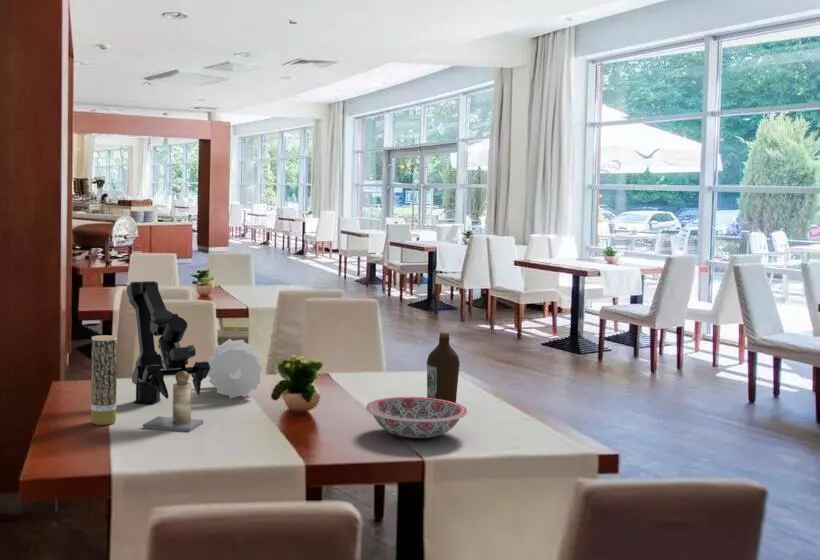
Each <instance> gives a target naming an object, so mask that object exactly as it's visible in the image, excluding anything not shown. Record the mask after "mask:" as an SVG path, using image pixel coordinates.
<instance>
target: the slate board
mask: <svg viewBox="0 0 820 560" xmlns="http://www.w3.org/2000/svg"><path fill="white" fill-rule="evenodd" d="M203 424H204V419H196V418H195V419H193V418H191V420H190V423H187V424H175V423H173V416H172V417H168V416H160V415H159V416H156V417H155V418H153V419H151V420H149V421H147V422H145V423H143V424H142V428H143V427H144V428H143V429H149V428H151V429H152V430H161V431H162V430H163V431H164V430H165V431H173V430H174V432H175V431H177V432H185V431H186V433H188V432H189V433H190V432H192V431H194V430H195V429H196V428H198V427H200V426H201V425H203Z"/></svg>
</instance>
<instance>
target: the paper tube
mask: <svg viewBox="0 0 820 560" xmlns="http://www.w3.org/2000/svg"><path fill="white" fill-rule="evenodd" d="M117 348H118V338H117V336H116V335H112V334H111V335H107V334H102V335H101V334H100V335H94V336H91V377H90V378H91V382H90V383H91V388H90V389H91V392H90V393H91V396H90V397H91V402H90V403H91V406H90V409H91V410H90V411H91V413H90V414H91V415H90V417H91V418H90V423H92V425H97V426H106V425H107V426H108V424H109V425H112V424H114V423H115V422H116V421H117V377H118V376H117V369H118V368H117V367H118V366H117V362H118V361H117V360H118V359H117V357H118V355H117V354H118V353H117V352H118V349H117Z"/></svg>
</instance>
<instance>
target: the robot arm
mask: <svg viewBox="0 0 820 560" xmlns="http://www.w3.org/2000/svg"><path fill="white" fill-rule="evenodd" d="M126 295H127V297H128V301H129V304H130V305H131V306H132V308H133V309H134V310H135V318H136V326H137V327H136V329H137V336H138V337H137V338H138V346H139V354H138V357H137V359H136V361H135V365H134V366H135V367H134V369H133V372H132V374H131V383H132V384H134V385H135V400H134V401H133V403H134V404H144V405H145V404H146V405H154V404H156V403H157V402H160V401H161V400H162V398H161V395H162V396H163V397H164V398H165V399H167V400H168V399H169V391H168V389H167V385H166V383H165V379H164V377H165V376H176V374H177V373H178V372H179V371H186V372H187V373H188V374H189V375H191V377H192V378H193V379H192V385H193V387H194V391H195V394H196V395H197V396H198V397H199V396H200V395H201V386H202V381H203V380H205V379H206V378H207V377H208V375H209V370H210V364H209V363H208V362H209V361H207V360H204V361H195V362H194V364H193V366H187V365H188V364H189V359H191V358H193V357H194V356H196V353H197V352H196V348H195V345H194V344H191V345H190V344H189V345H187V346H186V347H185V346H184V347H183V346H182V347H181V345H180V342H181V341H183V337H184V336H185V333H186V331H187V329H188V322H187V320H186V319H184V318H183V317H180V316H179V314H178V313H173V312H171V311H169V310H168V309H167V308H166V304H165V303H164V299H163V298H162V295H161V293H160V290H159V283H158V282H157V281H154V280H153V281H152V280H151V281H150V280H149V281H131V282H130V284H128V285H126ZM154 337H159V338H158V341H157V342H158V345H157V347H158V349H159V350H160V353H158V352H157V351H156V350H155V349H156V348H155V339H154ZM186 366H187V367H186Z"/></svg>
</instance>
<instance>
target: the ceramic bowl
mask: <svg viewBox="0 0 820 560" xmlns="http://www.w3.org/2000/svg"><path fill="white" fill-rule="evenodd" d="M365 410H366V411H367V412H368V413H370V414H371V415H373V417H374V419H375V421H376V423H377V424H378V425H379V426H380V427H381V428H382V429H384V430H385V431H386V432H388V433H390V434H393V435H396V436H399V437H403V438H413V439H424V438H427V439H428V438H434V437H439V436H441V435H444V434H447V433H448V432H449V431H451V430H452V429H453V428H454V427H455V426H456V425H457V423H458V422H459V421H460V419H461V418H464V417H465V416H466V415H468V409H467V408H466V407H465V406H463V405H462V404H460V403H457V402H456V403H454V402H451V401H447V400H441V399H435V398H427V397H425V396H423V397H421V396H394V397H393V396H392V397H384V398H381V399H380V398H379V399H376V400H373V401H371V402H368V403H367V405H366V406H365Z"/></svg>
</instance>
